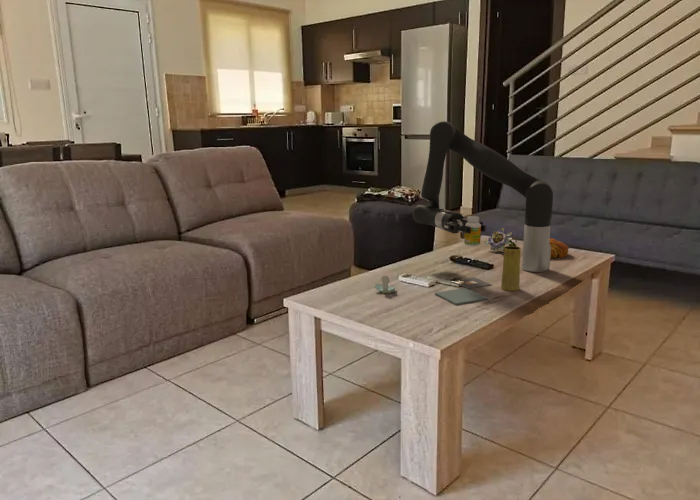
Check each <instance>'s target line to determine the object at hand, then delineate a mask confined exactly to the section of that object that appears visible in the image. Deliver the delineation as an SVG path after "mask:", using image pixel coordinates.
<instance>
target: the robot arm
mask: <svg viewBox="0 0 700 500" xmlns="http://www.w3.org/2000/svg"><path fill="white" fill-rule="evenodd" d="M448 150H450V151H452V152H454V153H456V154H458V155H459V156H460V157H462V158H463V159H464V160H465V161H466V162H467V163H468V164H469V165H471V166H472V167H473V168H474V169H475V170H477V171H478V172H480V173H481V174H483V175H484V176H487V178H490V179H492V180H493V181H496V182H498V183H500V184H503V185H506V186H508V187H510V188H512V189H514V190H515V191H516V192H518V193H519V194H520V195H522V196H523V197H524V198H525V207H524V208H525V209H524V210H525V211H524V212H525V213H524V222H523V223H524V225H523V226H524V227H523V243H522V244H523V245H522V260H521V269H522V270H524V271H525V272H526V271H527V272H531V273H543V272H546V271H548V270H550V266H551V265H550V264H551V258H550V254H551V245H550V244H549V239H550V238H551V223H552V215H553V214H552V213H553V205H554V204H553V202H554V193H553V189H552V187H551V186H550V184H548V182H546V181H544V180H542V179H539V178H537V177H535V176H533V175H531V174H529V173H527V172H526V171H524V170H522V169H521V168H519V167H518V166H517V165H516V164H515V163H513V162H512V161H510V160H509V159H508V158H506V157H505V156H504V155H503V154H500V153H499V152H497V151H496V150H494V149H493V148H490V147H488V146H487V145H485V144H483V143H480V142H478V141H477V140H475V139H472V138H470V137H469V136H467V135H466V134H465V133H463V132H462V131H461V130H459V129H458V128H457V127H456V126H455V125H453V123H451V122H449V121H445V120H443V121H438V122H436V123H434V124H433V126H432V127H431V129H430V130H429V151H428V158H427V159H428V161H427V165H426V168H425V174H424V179H423V183H422V187H421V192H420V196H421V198H422V199H423V200H427V201H428V204H427V205H426V204H418V205H416V206H414V207H413V209H412V212H411V214H412V215H411V216H412V219H413V220H414V221H415V222H416V223H417V224H421V225H429V226H432V227H435V228H438V229H440V230H442V231H445V232H448V233H450V234H458V233H464V234H465V233H468V234H469V233H471V227H469V226H465V224H466V223H468V221H467V218H465V217H464V215H463V214H462V213H459V212H458V211H457V212H456V211H453V210H448V209H442V208H440V193H441V188H442V184H443V176H444V165H445V161H446V157H447V153H448ZM478 223H480V224H481V233H483V232H486V231H487V230H486V229H487V226H486V225H485V224H484V221H481V220H479V222H478Z"/></svg>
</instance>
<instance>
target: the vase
mask: <svg viewBox="0 0 700 500" xmlns="http://www.w3.org/2000/svg"><path fill="white" fill-rule="evenodd" d="M520 263H521V247H519V246H517V245H516V246H509V245H505V246H504V250H503V261H502V264H503V265H502V274H501V285H500V289H501V290H503V291H508V292H516V291H520V279H521V278H520V272H521V268H520V267H521V264H520Z"/></svg>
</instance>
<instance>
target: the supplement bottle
mask: <svg viewBox="0 0 700 500" xmlns="http://www.w3.org/2000/svg"><path fill="white" fill-rule="evenodd" d="M466 219H467V221H468V223H466V224H465V226H469V227H471V233H469V234H468V233H465V232H464V241H463V243H464V245H465V246H467V247H468V246H469V247H478V246H480V245H481V234H482V231H481V224H480V223H478V222H479V221H480V217H479V216H476V215H469V216H467V218H466Z"/></svg>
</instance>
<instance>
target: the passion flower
mask: <svg viewBox="0 0 700 500" xmlns="http://www.w3.org/2000/svg"><path fill="white" fill-rule="evenodd" d="M512 233H513V232H505V228H504V227H502V228H501V229H497V231H496V230H494V231H492V232H491V234H489V237H488V239H487V240H486V241H485V242H484V244H485V245H488V244H489V245H490V251H494V253H497V252H498V251H499V250H500V251H501V252H504V247H506V246H517V244H516V243H517V242H518V240H517V238H516V237H515V236H514V237H510V236H512ZM513 239H514V240H515V242H513V241H512V240H513Z"/></svg>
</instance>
